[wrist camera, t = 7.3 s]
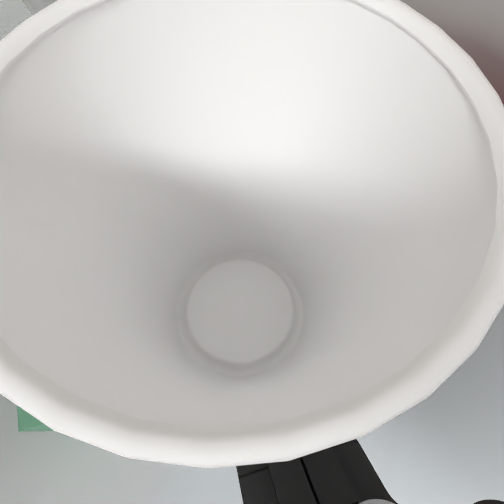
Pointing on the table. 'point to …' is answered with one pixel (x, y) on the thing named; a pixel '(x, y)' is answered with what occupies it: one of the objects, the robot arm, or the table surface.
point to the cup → (241, 222)
